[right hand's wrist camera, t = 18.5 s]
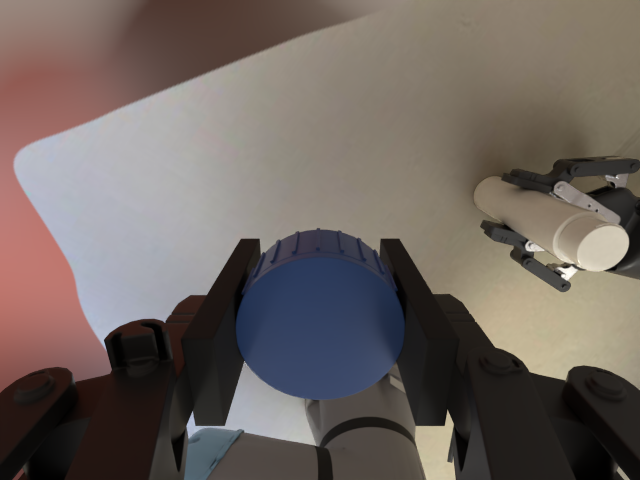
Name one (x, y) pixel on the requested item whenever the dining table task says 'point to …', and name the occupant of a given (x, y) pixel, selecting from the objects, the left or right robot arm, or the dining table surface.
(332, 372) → the lid
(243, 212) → the dining table surface
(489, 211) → the jar
